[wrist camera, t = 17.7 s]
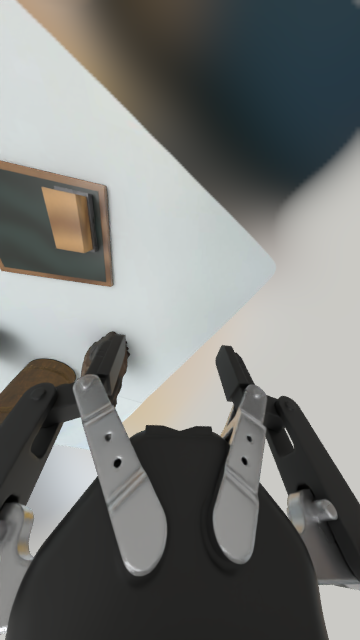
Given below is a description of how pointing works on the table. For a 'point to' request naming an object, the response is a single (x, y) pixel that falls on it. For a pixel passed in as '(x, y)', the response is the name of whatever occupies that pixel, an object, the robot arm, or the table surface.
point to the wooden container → (34, 381)
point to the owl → (113, 398)
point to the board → (48, 228)
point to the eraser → (71, 219)
